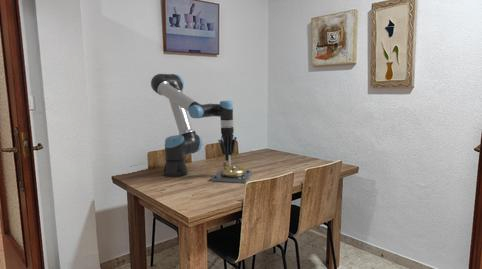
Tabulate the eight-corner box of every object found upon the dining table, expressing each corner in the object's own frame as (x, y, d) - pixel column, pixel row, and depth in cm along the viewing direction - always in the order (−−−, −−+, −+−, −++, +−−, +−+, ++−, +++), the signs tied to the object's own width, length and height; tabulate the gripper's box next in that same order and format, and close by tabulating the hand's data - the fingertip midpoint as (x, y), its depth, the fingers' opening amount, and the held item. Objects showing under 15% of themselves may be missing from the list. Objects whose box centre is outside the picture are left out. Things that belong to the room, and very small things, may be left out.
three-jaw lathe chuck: (222, 177, 195) (222, 166, 194) (218, 171, 208) (218, 161, 207) (246, 176, 198) (246, 165, 197) (241, 170, 211) (241, 160, 210)
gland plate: (211, 181, 196) (211, 176, 195) (220, 172, 215) (220, 168, 215) (245, 183, 191) (245, 178, 191) (252, 174, 211) (252, 170, 210)
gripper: (230, 125, 210) (232, 162, 214) (214, 127, 202) (216, 166, 206) (239, 126, 205) (240, 164, 209) (223, 128, 196) (224, 168, 200)
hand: (228, 165), depth 207 cm, fingers closed
